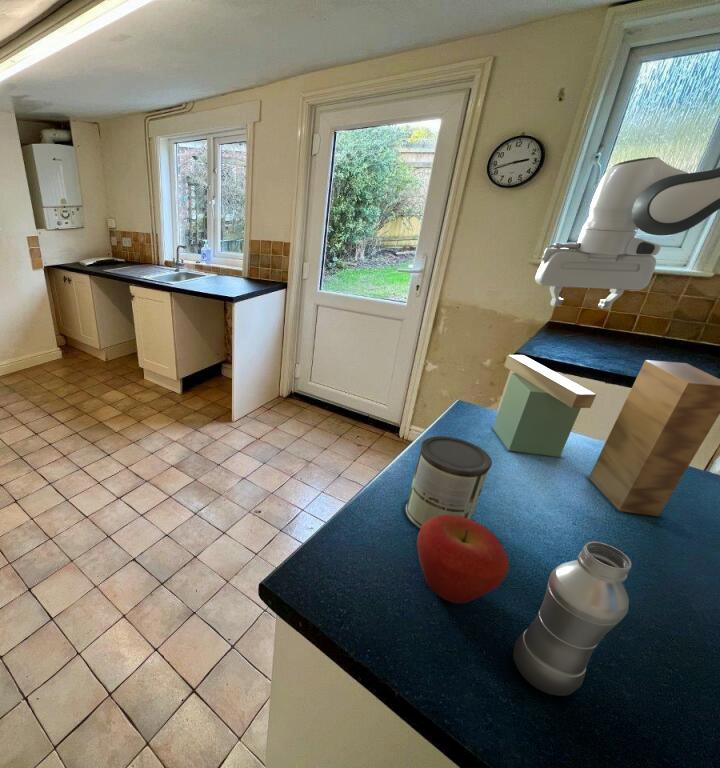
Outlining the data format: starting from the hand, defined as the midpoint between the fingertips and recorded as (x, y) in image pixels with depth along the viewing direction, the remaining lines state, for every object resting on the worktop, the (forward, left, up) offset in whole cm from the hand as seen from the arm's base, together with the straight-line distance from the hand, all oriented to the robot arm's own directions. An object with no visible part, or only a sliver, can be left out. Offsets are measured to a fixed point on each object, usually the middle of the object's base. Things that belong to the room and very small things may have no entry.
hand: (579, 307), depth 95 cm
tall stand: (-2, +31, -29) cm, 42 cm away
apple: (+36, +62, -29) cm, 77 cm away
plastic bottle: (+28, +72, -29) cm, 83 cm away
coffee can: (+34, +46, -29) cm, 64 cm away
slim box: (+9, +15, -14) cm, 22 cm away
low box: (+8, +14, -29) cm, 33 cm away
